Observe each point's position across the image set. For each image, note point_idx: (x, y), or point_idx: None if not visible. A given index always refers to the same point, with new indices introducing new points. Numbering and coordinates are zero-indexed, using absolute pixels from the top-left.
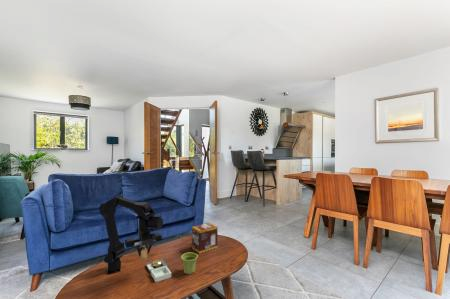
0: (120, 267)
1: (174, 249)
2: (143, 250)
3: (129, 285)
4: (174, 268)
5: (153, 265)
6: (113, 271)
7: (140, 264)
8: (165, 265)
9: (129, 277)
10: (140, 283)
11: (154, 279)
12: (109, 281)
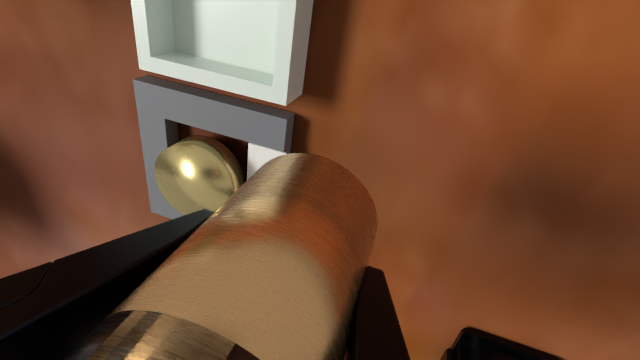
0: (451, 355)
1: None
2: (250, 329)
3: (567, 66)
4: (101, 27)
5: (235, 175)
6: (518, 357)
7: None
8: (150, 109)
9: (468, 200)
10: (459, 11)
11: None
12: (636, 278)
